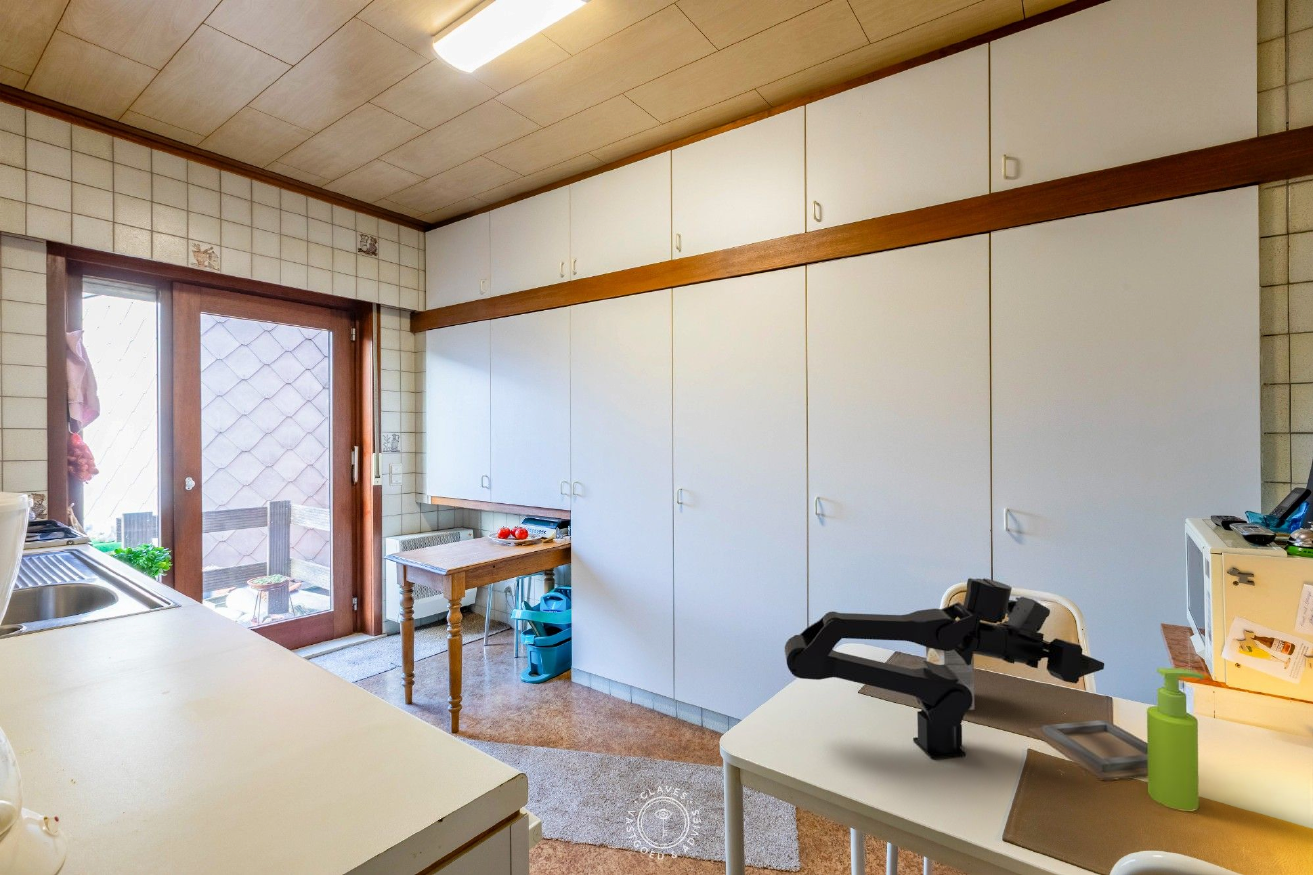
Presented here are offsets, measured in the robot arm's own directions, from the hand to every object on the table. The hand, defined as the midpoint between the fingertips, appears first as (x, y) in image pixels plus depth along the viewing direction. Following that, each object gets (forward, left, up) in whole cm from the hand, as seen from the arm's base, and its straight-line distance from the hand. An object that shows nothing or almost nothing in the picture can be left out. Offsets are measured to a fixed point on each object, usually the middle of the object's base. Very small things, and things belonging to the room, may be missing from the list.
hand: (1083, 658), depth 106 cm
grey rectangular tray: (+3, -1, -16) cm, 16 cm away
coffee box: (-12, +21, -16) cm, 29 cm away
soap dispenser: (+2, -15, -16) cm, 22 cm away
